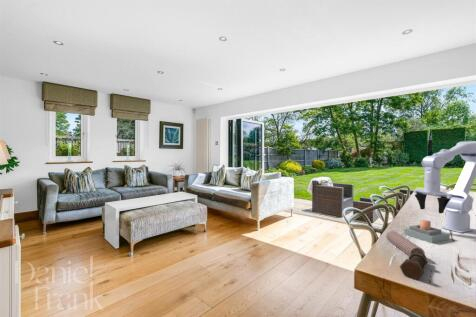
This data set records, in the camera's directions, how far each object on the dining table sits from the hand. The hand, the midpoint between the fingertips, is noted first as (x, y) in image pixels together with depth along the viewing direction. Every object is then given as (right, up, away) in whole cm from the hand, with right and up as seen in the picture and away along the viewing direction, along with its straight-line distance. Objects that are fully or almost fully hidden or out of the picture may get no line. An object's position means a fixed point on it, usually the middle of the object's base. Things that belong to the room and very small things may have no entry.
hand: (431, 211), depth 108 cm
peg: (-8, -10, -6) cm, 14 cm away
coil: (-27, -11, -19) cm, 34 cm away
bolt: (-33, -12, -34) cm, 49 cm away
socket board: (-7, -10, -5) cm, 13 cm away
